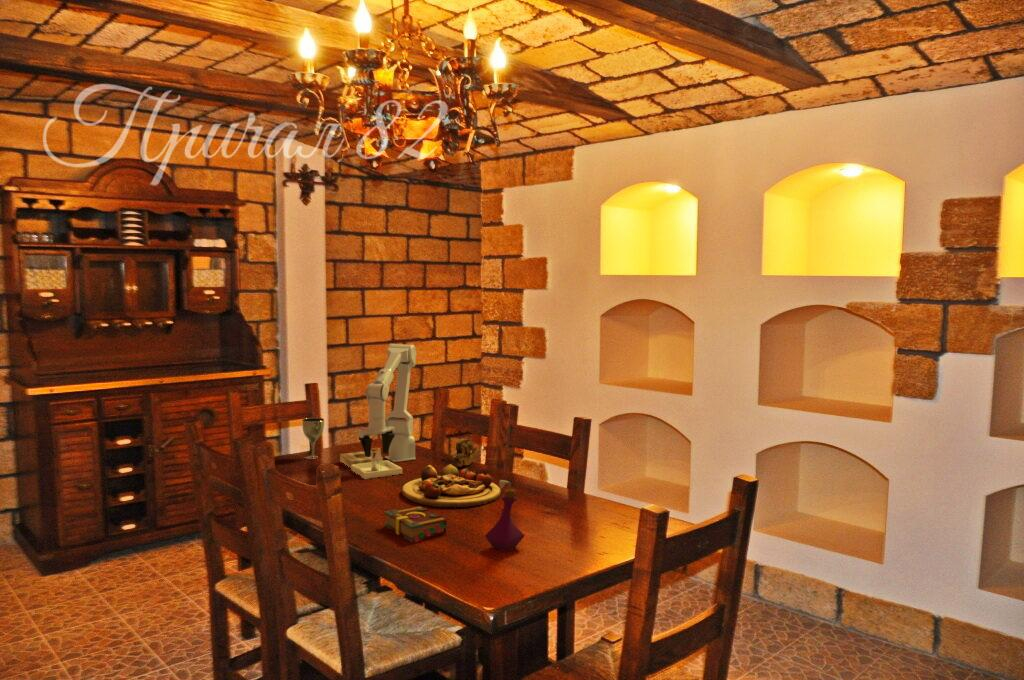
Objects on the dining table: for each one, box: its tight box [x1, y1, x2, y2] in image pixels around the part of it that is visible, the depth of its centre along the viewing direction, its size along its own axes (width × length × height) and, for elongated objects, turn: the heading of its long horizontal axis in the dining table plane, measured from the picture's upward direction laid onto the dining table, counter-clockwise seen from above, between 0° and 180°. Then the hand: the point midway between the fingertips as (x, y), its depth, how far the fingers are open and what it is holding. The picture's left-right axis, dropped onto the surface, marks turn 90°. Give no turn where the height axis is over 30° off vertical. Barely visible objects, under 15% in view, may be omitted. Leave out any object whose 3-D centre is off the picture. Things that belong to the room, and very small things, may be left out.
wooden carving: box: [452, 438, 478, 468], centre depth 273 cm, size 16×5×10 cm, turn 162°
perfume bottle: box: [484, 479, 525, 552], centre depth 190 cm, size 8×8×18 cm
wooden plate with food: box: [401, 463, 502, 509], centre depth 237 cm, size 32×32×8 cm
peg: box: [371, 447, 383, 472], centre depth 260 cm, size 4×4×8 cm
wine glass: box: [301, 417, 325, 459], centre depth 277 cm, size 8×8×15 cm
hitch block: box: [339, 451, 384, 469], centre depth 272 cm, size 12×12×3 cm
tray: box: [350, 459, 403, 480], centre depth 260 cm, size 14×13×2 cm
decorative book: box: [384, 505, 447, 543], centre depth 202 cm, size 11×16×5 cm
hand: (376, 454), depth 260 cm, fingers open, 7 cm apart
